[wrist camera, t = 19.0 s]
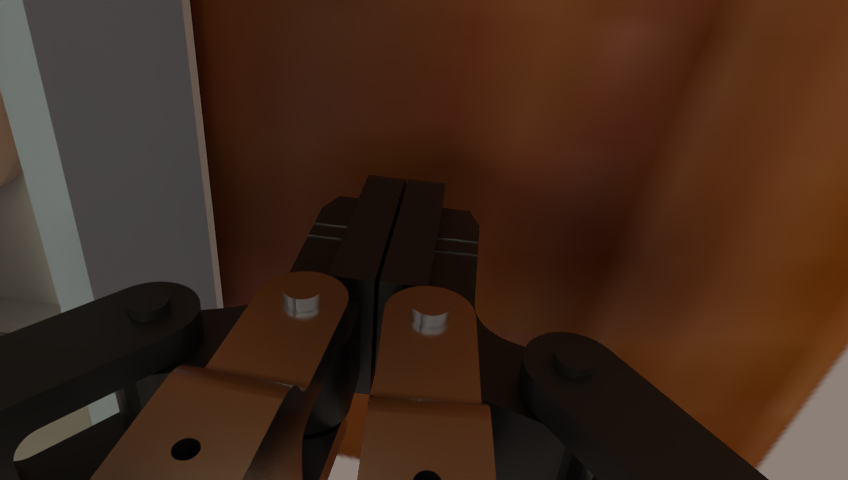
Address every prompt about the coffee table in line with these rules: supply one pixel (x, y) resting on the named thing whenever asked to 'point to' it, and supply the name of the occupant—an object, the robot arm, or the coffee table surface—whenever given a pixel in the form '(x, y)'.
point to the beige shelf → (82, 418)
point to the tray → (98, 158)
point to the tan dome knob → (7, 149)
